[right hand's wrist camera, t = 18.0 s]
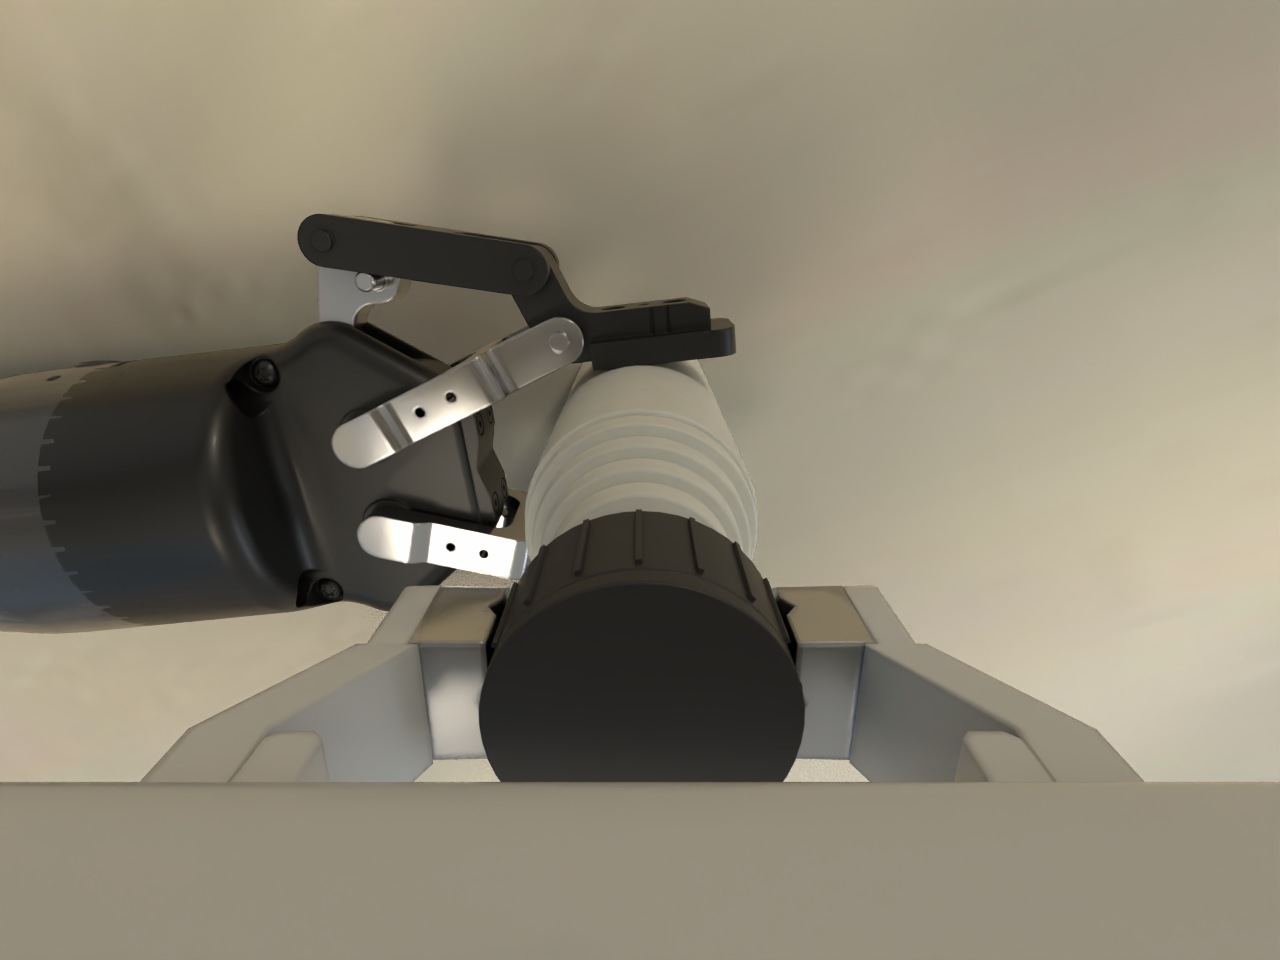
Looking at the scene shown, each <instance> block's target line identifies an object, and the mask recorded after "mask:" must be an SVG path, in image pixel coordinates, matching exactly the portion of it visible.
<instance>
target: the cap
mask: <svg viewBox="0 0 1280 960" xmlns="http://www.w3.org/2000/svg"><path fill="white" fill-rule="evenodd" d="M790 642H791V641H790V638H789V636H788V633H787V630H786V628H785V625H784V622H783V619H782V617H781V614H780V611H779V608H778V606H777V603H776V600H775V597H774V595H773V592H772V589H771V587H770V584H769V581H768V579H767V578H765V579H763V578H762V576H761V574H760V573H759V571H758V570H757V569H756V567H755V566H754V564H753V563H752V561H751V560H750V559H749V558H748V557H747V556H746V555H745V553H744V552H743V551H742V550H741V548H740V545H739V544H738V543H737V542H736V541H735V542H734V543H733V542H732V541H730V540H729V539H728V538H727V537H725V536H723V535H722V534H720V533H719V532H717V531H715V530H714V529H712V528H710V527H708V526H706V525H704V524H701V523H699V522H697V521H695V518H692V517H689V519H688V518H685V517H682V516H679V515H673V514H668V513H663V512H651V511H642V509H636V511H632V512H621V513H615V514H610V515H605V516H601V517H598V518H595V519H592V520H589V519H586V520H583V523H582V524H580V525H577V526H575V527H573V528H571V529H569V530H568V531H566V532H564V533H563V534H561V535H560V536H558V537H556V538H555V539H554V540H553V541H552V542H550V543H549V544H548V545H547V546H545V545H542V546H541V547H540V549H539V552H538V555H537V556H536V557H535V558H534V559H533V560H532V561H531V563H530V564H529V566H528V567H527V569H526V570H525V572H524V573H523V575H522V577H521V579H520V581H519V583H515V582H514V584H513V586H512V588H511V591H510V594H509V597H508V599H507V602H506V605H505V608H504V611H503V613H502V616H501V619H500V622H499V624H498V627H497V630H496V633H495V635H494V638H493V641H492V644H491V647H492V648H494V652H493V655H492V658H491V661H490V664H489V667H488V670H487V673H486V676H485V679H484V682H483V685H482V688H481V694H480V701H479V728H480V734H481V739H482V744H483V747H484V749H485V752H486V755H487V758H488V761H489V763H490V764H491V766H492V768H493V770H494V772H495V774H496V776H497V777H498V779H499V780H500V781H501V782H783V781H784V779H785V778H786V777H787V775H788V773H789V771H790V769H791V767H792V766H793V764H794V762H795V760H796V757H797V754H798V751H799V748H800V745H801V742H802V737H803V731H804V726H805V704H804V696H803V686H802V684H801V683H800V680H799V677H798V673H797V670H796V668H795V665H794V662H793V659H792V656H791V654H790V651H789V648H788V645H787V644H788V643H790Z"/></svg>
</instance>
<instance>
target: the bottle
mask: <svg viewBox="0 0 1280 960" xmlns="http://www.w3.org/2000/svg"><path fill="white" fill-rule="evenodd" d="M636 509H642V511H651V512H663V513H668V514H673V515H679V516H682V517H685V518H688V519H689V517H692V518H695V521H697V522H699V523H701V524H704V525H706V526H708V527H710V528H712V529H714V530H715V531H717V532H719V533H720V534H722V535H723V536H725V537H727V538H728V539H729V540H730V541H732V542H733V543H734V542H735V541H736V542H737V543H738V544H739V545H740V548H741V550H742V551H743V552H744V553H745V555H746V556H747V557H748V558H749V559H750V560H751V561H752V560H753V557H754V552H755V548H756V544H757V531H758V527H757V521H758V510H757V500H756V495H755V490H754V487H753V484H752V481H751V478H750V476H749V473H748V471H747V469H746V466H745V464H744V462H743V460H742V458H741V455H740V453H739V451H738V449H737V446H736V444H735V442H734V440H733V437H732V435H731V433H730V431H729V428H728V426H727V424H726V422H725V419H724V417H723V415H722V413H721V410H720V408H719V406H718V404H717V402H716V399H715V397H714V395H713V393H712V390H711V388H710V386H709V384H708V381H707V379H706V377H705V375H704V372H703V370H702V368H701V366H700V364H699V362H698V360H688V361H679V362H670V363H661V364H652V365H643V366H629V367H622V368H616V369H607V370H598V371H593V367H592V361H590V362H583V363H582V365H581V368H580V370H579V372H578V374H577V377H576V379H575V381H574V384H573V386H572V388H571V390H570V393H569V395H568V397H567V399H566V402H565V404H564V406H563V409H562V411H561V413H560V415H559V418H558V420H557V422H556V424H555V427H554V429H553V431H552V434H551V436H550V438H549V440H548V443H547V445H546V447H545V450H544V452H543V454H542V456H541V459H540V461H539V463H538V465H537V468H536V470H535V472H534V475H533V477H532V480H531V482H530V485H529V489H528V493H527V497H526V504H525V538H526V545H527V550H528V555H529V558H530V561H532V560H533V559H534V558H535V557H536V556H537V555H538V552H539V549H540V547H541V546H542V545H545V546H547V545H548V544H549V543H550V542H552V541H553V540H554V539H555V538H556V537H558V536H560V535H561V534H563V533H564V532H566V531H568V530H569V529H571V528H573V527H575V526H577V525H580V524H582V523H583V520H586V519H589V520H592V519H595V518H598V517H601V516H605V515H610V514H615V513H621V512H632V511H636Z"/></svg>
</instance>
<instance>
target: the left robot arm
mask: <svg viewBox="0 0 1280 960" xmlns="http://www.w3.org/2000/svg"><path fill="white" fill-rule="evenodd" d="M298 244H299V247H300V249H301V251H302V253H303V254H304V256H305V257H306V258H307V259H308V260H309V261H310V262H312V263H313V264H315V265H317V280H318V323H316V324H313V325H311V326H309V327H308V328H306V329H305V330H303V331H302V332H301V333H300V334H299V335H297V336H296V337H295V338H294V339H292V340H291V341H289V342H287V343H283V344H276V345H267V346H258V347H250V348H241V349H232V350H223V351H214V352H206V353H197V354H188V355H179V356H170V357H162V358H152V359H144V360H135V361H126V362H121V361H90V362H83V363H79V365H75V366H73V368H66V369H57V370H49V371H41V372H34V373H27V374H21V375H16V376H12V377H8V378H4V379H0V631H5V632H28V633H73V632H90V631H100V630H110V629H120V628H130V627H141V626H151V625H161V624H172V623H182V622H192V621H202V620H213V619H223V618H233V617H243V616H253V615H264V614H274V613H284V612H293V611H299V610H305V609H309V608H313V607H317V606H321V605H325V604H330V603H334V602H340V601H349V602H356V603H361V604H365V605H368V606H371V607H373V608H376V609H379V610H383V611H389V610H390V609H391V607H392V606H393V604H394V603H395V601H396V600H397V598H398V597H399V595H400V594H401V592H402V591H403V590H404V588H405V587H409V586H433V585H440V584H441V583H442V582H443V581H444V580H445V579H446V578H447V577H449V576H450V575H451V574H452V573H453V572H454V571H455V570H456V569H461V570H466V571H471V572H476V573H481V574H486V575H491V576H496V577H501V578H505V579H511V580H519V579H521V577H522V575H523V573H524V572H525V570H526V569H527V567H528V566H529V564H530V563H531V561H530V558H529V555H528V550H527V545H526V538H525V504H526V497H527V493H525V492H521V491H516V490H511V489H507V484H506V478H505V473H504V470H503V468H502V466H501V464H500V462H499V460H498V458H497V456H496V454H495V452H494V450H493V436H494V424H495V420H494V415H493V410H492V404H494V403H496V402H498V401H500V400H501V399H503V398H505V397H506V396H508V395H509V394H511V393H512V392H514V391H516V390H518V389H520V388H522V387H524V386H526V385H528V384H530V383H532V382H534V381H536V380H538V379H540V378H542V377H544V376H546V375H548V374H550V373H552V372H554V371H556V370H558V369H560V368H563V367H565V366H567V365H569V364H572V363H581V362H590V361H592V367H593V371H598V370H607V369H616V368H622V367H629V366H643V365H652V364H661V363H670V362H679V361H688V360H697V359H706V358H715V357H723V356H728V355H732V354H734V353H736V343H735V328H734V324H733V323H732V322H731V321H730V320H729V319H725V318H716V319H710V308H709V307H708V306H707V305H706V303H704V302H701V301H697V300H694V299H690V298H687V297H683V298H675V299H666V300H657V301H650V302H640V303H631V304H623V305H614V306H605V307H591V306H588V305H586V304H583V303H582V302H580V301H579V300H578V299H577V298H576V297H575V296H574V295H573V293H572V292H571V290H570V288H569V286H568V284H567V282H566V280H565V278H564V276H563V274H562V273H561V271H560V269H559V261H558V258H557V256H556V254H555V252H554V251H553V250H552V249H551V248H550V247H549V246H547V245H545V244H542V243H537V242H531V241H524V240H517V239H510V238H504V237H497V236H490V235H484V234H477V233H470V232H464V231H457V230H450V229H444V228H437V227H430V226H423V225H417V224H410V223H403V222H397V221H390V220H383V219H377V218H370V217H363V216H349V215H329V214H314V215H311V216H309V217H307V218H306V219H305V220H304V221H303V222H302V223H301V225H300V227H299V230H298ZM411 280H414V281H421V282H428V283H435V284H442V285H449V286H456V287H462V288H469V289H476V290H483V291H490V292H497V293H504V294H511V295H512V296H513V298H514V300H515V302H516V304H517V305H518V307H519V309H520V311H521V313H522V315H523V317H524V318H525V320H526V322H527V324H528V325H527V326H525V327H523V328H521V329H519V330H517V331H515V332H513V333H511V334H509V335H507V336H504V337H502V338H499V339H497V340H495V341H493V342H491V343H489V344H487V345H485V346H483V347H481V348H479V349H477V350H475V351H473V352H471V353H469V354H467V355H465V356H464V357H462V358H460V359H458V360H456V361H454V362H452V363H450V364H448V365H447V364H445V363H444V362H442V361H440V360H438V359H436V358H434V357H432V356H431V355H429V354H427V353H425V352H423V351H421V350H419V349H418V348H416V347H414V346H412V345H410V344H408V343H406V342H404V341H403V340H401V339H399V338H397V337H395V336H393V335H391V334H390V333H388V332H386V331H384V330H382V329H380V328H378V327H377V326H375V325H373V324H371V323H369V322H367V316H368V313H369V311H370V309H371V308H372V307H373V306H374V305H375V304H384V303H388V302H391V301H395V300H398V299H400V298H402V297H403V296H404V295H405V294H406V293H407V292H408V290H409V288H410V283H411ZM505 509H506V510H505Z"/></svg>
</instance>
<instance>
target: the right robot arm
mask: <svg viewBox="0 0 1280 960" xmlns="http://www.w3.org/2000/svg"><path fill="white" fill-rule="evenodd" d="M510 591H511V590H510V588H509V587H466V586H443V587H442V586H441V585H433V586H409V587H405V588H404V590H403V591H402V592H401V594H400V595H399V597H398V598H397V600H396V601H395V603H394V604H393V606H392V607H391V609H390V610H389V612H388V613H387V615H386V616H385V618H384V619H383V621H382V622H381V624H380V625H379V627H378V628H377V630H376V631H375V633H374V634H373V636H372V637H371V639H370V640H369V642H368V643H367V644H355V645H353V646H351V647H350V648H348V649H346V650H344V651H342V652H340V653H338V654H336V655H334V656H332V657H330V658H328V659H326V660H324V661H322V662H320V663H318V664H316V665H314V666H312V667H310V668H308V669H306V670H304V671H302V672H300V673H298V674H296V675H294V676H292V677H290V678H288V679H286V680H284V681H282V682H280V683H278V684H276V685H274V686H272V687H270V688H268V689H266V690H264V691H262V692H260V693H258V694H256V695H254V696H252V697H250V698H248V699H246V700H244V701H242V702H240V703H238V704H236V705H234V706H232V707H230V708H228V709H226V710H224V711H222V712H220V713H218V714H217V715H215V716H213V717H211V718H209V719H207V720H205V721H203V722H201V723H199V724H197V725H195V726H193V727H191V728H189V729H188V730H187V731H186V732H185V733H184V734H183V735H182V736H181V737H180V738H179V740H178V741H177V742H176V743H175V744H174V745H173V746H172V747H171V748H170V749H169V750H168V752H167V753H166V754H165V755H164V756H163V757H162V758H161V759H160V760H159V761H158V763H157V764H156V765H155V766H154V767H153V768H152V769H151V770H150V771H149V772H148V773H147V775H146V776H145V777H144V778H143V779H142V780H141V781H140V782H0V960H1280V782H1144V781H1143V779H1142V778H1141V777H1140V776H1139V775H1138V774H1137V773H1136V772H1135V771H1134V770H1133V769H1132V767H1131V766H1130V765H1129V764H1128V763H1127V762H1126V761H1125V760H1124V759H1123V758H1122V757H1121V755H1120V754H1119V753H1118V752H1117V751H1116V750H1115V749H1114V748H1113V747H1112V746H1111V745H1110V743H1109V742H1108V741H1107V740H1106V739H1105V738H1104V737H1103V736H1102V735H1101V734H1100V733H1099V731H1098V730H1097V729H1095V728H1093V727H1091V726H1089V725H1087V724H1085V723H1083V722H1081V721H1079V720H1077V719H1075V718H1073V717H1071V716H1069V715H1067V714H1065V713H1063V712H1061V711H1059V710H1057V709H1055V708H1053V707H1051V706H1049V705H1047V704H1045V703H1043V702H1041V701H1039V700H1037V699H1035V698H1033V697H1031V696H1029V695H1027V694H1025V693H1023V692H1021V691H1019V690H1017V689H1015V688H1013V687H1011V686H1009V685H1007V684H1005V683H1003V682H1001V681H999V680H997V679H995V678H993V677H991V676H989V675H987V674H985V673H983V672H981V671H979V670H977V669H975V668H973V667H971V666H969V665H967V664H965V663H963V662H962V661H960V660H958V659H956V658H954V657H952V656H950V655H948V654H946V653H944V652H942V651H940V650H938V649H936V648H934V647H932V646H930V645H928V644H916V643H915V642H914V640H913V639H912V637H911V636H910V634H909V633H908V631H907V630H906V628H905V627H904V626H903V624H902V623H901V621H900V620H899V618H898V617H897V615H896V614H895V612H894V611H893V610H892V608H891V607H890V605H889V604H888V602H887V601H886V599H885V598H884V596H883V595H882V594H881V592H880V591H879V589H878V588H877V587H875V586H873V585H865V586H843V587H842V586H817V587H776V588H773V589H772V592H773V595H774V597H775V600H776V603H777V606H778V608H779V611H780V614H781V617H782V619H783V622H784V625H785V628H786V630H787V633H788V636H789V638H790V641H791V642H790V643H788V644H787V645H788V648H789V651H790V654H791V656H792V659H793V662H794V665H795V668H796V670H797V673H798V677H799V680H800V683H801V684H802V686H803V696H804V704H805V726H804V731H803V737H802V742H801V745H800V748H799V751H798V754H797V757H796V758H798V759H835V760H850V763H851V764H852V765H853V766H854V767H855V768H856V769H857V770H858V771H859V772H860V773H861V774H862V775H863V776H864V777H866V778H867V779H868V780H869V781H870V782H414V781H415V780H416V779H417V778H418V777H419V776H420V775H421V774H422V773H423V772H424V771H425V770H426V769H427V768H429V767H430V766H431V765H432V764H433V760H447V759H483V758H487V755H486V752H485V749H484V747H483V744H482V739H481V734H480V728H479V701H480V694H481V688H482V685H483V682H484V679H485V676H486V673H487V670H488V667H489V664H490V661H491V658H492V655H493V652H494V648H492V647H491V644H492V641H493V638H494V635H495V633H496V630H497V627H498V624H499V622H500V619H501V616H502V613H503V611H504V608H505V605H506V602H507V599H508V597H509V594H510Z"/></svg>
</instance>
